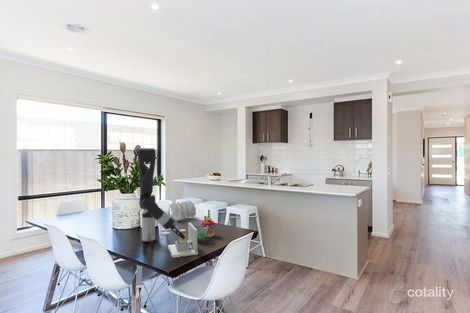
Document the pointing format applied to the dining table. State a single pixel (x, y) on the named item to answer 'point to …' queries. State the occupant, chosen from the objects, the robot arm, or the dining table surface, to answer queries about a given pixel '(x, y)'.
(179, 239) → the rail post
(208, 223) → the cake
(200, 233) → the food container
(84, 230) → the dining table surface
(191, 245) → the cup bracket
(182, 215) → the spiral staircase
